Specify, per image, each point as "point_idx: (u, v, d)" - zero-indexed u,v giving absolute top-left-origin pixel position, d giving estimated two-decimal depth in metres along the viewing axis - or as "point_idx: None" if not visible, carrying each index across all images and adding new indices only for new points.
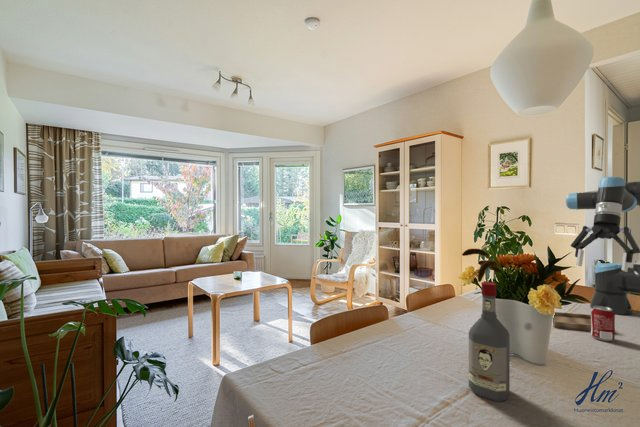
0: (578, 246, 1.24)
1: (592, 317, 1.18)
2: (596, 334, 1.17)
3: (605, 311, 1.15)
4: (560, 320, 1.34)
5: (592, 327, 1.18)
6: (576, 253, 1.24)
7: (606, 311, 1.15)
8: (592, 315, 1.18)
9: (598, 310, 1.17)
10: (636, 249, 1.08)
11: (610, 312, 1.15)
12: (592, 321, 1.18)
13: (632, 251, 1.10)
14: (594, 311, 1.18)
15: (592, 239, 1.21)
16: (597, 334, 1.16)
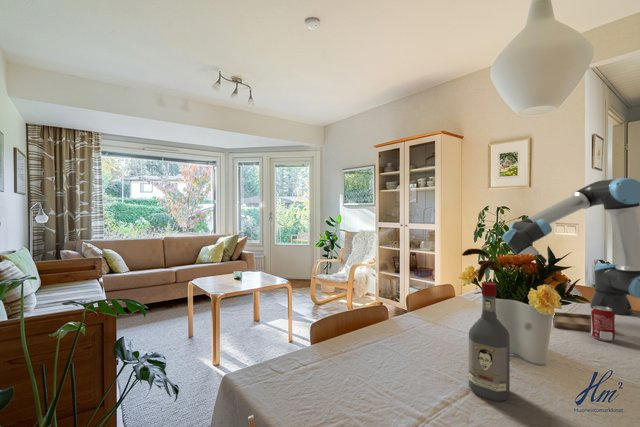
0: None
1: (592, 317, 1.18)
2: (596, 334, 1.17)
3: (605, 311, 1.15)
4: (560, 320, 1.34)
5: (592, 327, 1.18)
6: None
7: (606, 311, 1.15)
8: (592, 315, 1.18)
9: (598, 310, 1.17)
10: None
11: (610, 312, 1.15)
12: (592, 321, 1.18)
13: None
14: (594, 311, 1.18)
15: None
16: (597, 334, 1.16)
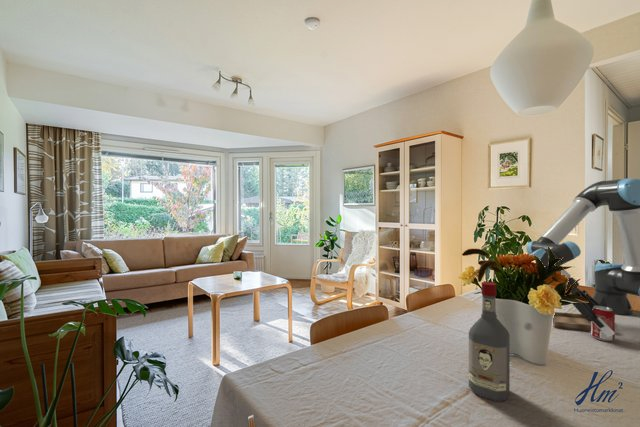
0: None
1: None
2: (596, 334, 1.17)
3: (605, 311, 1.15)
4: (560, 320, 1.34)
5: (592, 327, 1.18)
6: None
7: (606, 311, 1.15)
8: None
9: (598, 310, 1.16)
10: None
11: (610, 312, 1.15)
12: None
13: None
14: (594, 311, 1.18)
15: (587, 303, 1.23)
16: (597, 334, 1.16)
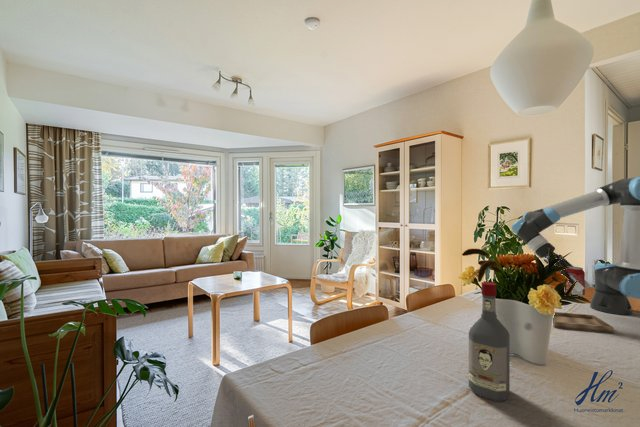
0: None
1: None
2: None
3: (576, 269, 1.30)
4: (560, 320, 1.34)
5: None
6: None
7: (577, 269, 1.30)
8: None
9: (570, 269, 1.31)
10: None
11: (581, 270, 1.30)
12: None
13: None
14: (567, 270, 1.32)
15: (562, 265, 1.38)
16: None
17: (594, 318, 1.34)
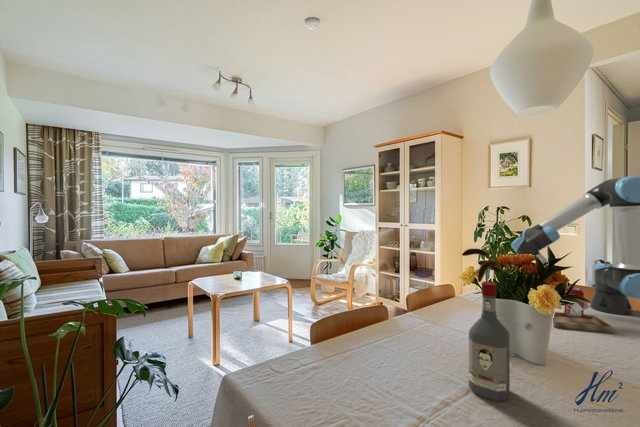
0: None
1: None
2: (567, 311, 1.32)
3: (575, 290, 1.30)
4: (560, 320, 1.34)
5: None
6: None
7: (576, 290, 1.30)
8: None
9: None
10: None
11: (579, 291, 1.30)
12: None
13: None
14: None
15: None
16: (568, 310, 1.31)
17: (594, 318, 1.34)
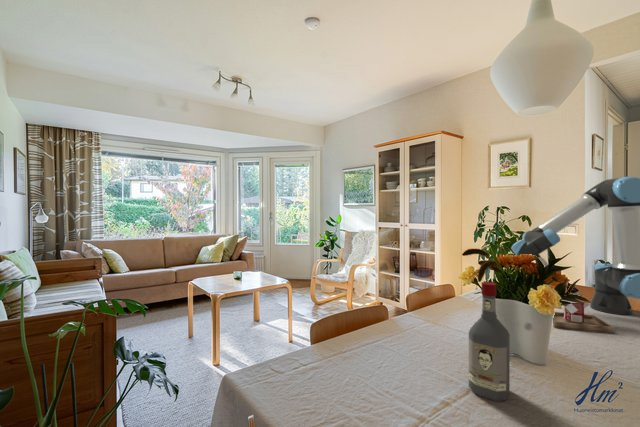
0: None
1: None
2: (568, 318, 1.32)
3: None
4: (560, 320, 1.34)
5: (565, 311, 1.33)
6: None
7: None
8: None
9: None
10: None
11: None
12: None
13: None
14: None
15: None
16: (569, 317, 1.31)
17: (594, 318, 1.34)
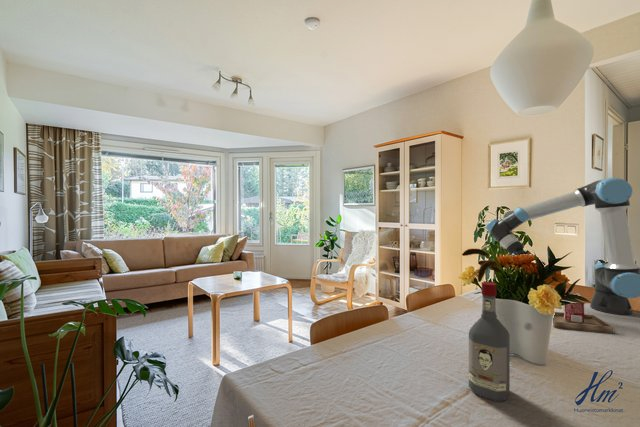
0: None
1: None
2: (568, 318, 1.32)
3: None
4: (560, 320, 1.34)
5: (565, 311, 1.33)
6: None
7: None
8: None
9: None
10: None
11: None
12: (565, 306, 1.33)
13: None
14: None
15: None
16: (569, 317, 1.31)
17: (594, 318, 1.34)
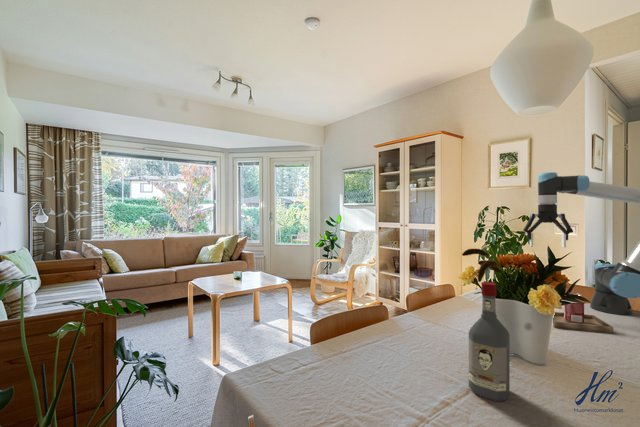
0: None
1: None
2: (568, 318, 1.32)
3: None
4: (560, 320, 1.34)
5: (565, 311, 1.33)
6: None
7: None
8: None
9: None
10: None
11: None
12: (565, 306, 1.33)
13: None
14: None
15: (556, 224, 1.50)
16: (569, 317, 1.31)
17: (594, 318, 1.34)
